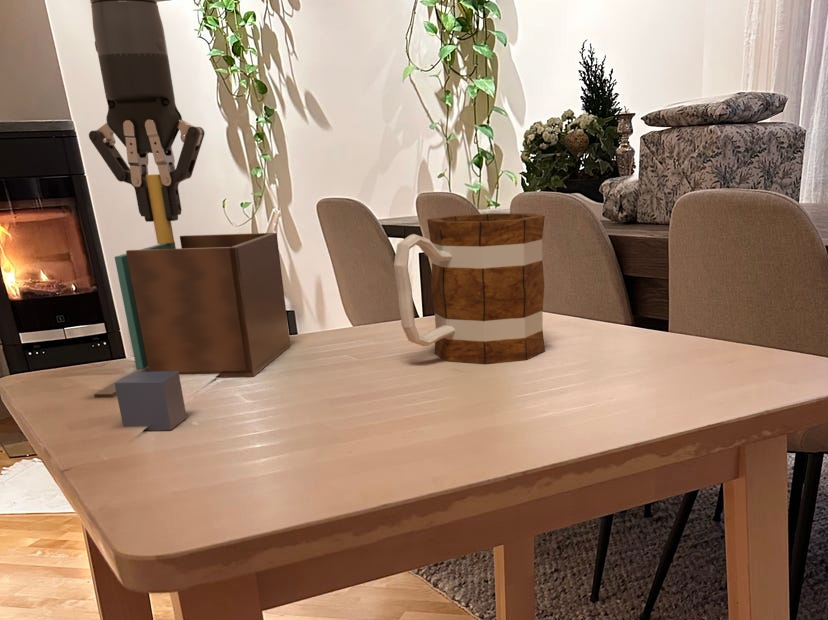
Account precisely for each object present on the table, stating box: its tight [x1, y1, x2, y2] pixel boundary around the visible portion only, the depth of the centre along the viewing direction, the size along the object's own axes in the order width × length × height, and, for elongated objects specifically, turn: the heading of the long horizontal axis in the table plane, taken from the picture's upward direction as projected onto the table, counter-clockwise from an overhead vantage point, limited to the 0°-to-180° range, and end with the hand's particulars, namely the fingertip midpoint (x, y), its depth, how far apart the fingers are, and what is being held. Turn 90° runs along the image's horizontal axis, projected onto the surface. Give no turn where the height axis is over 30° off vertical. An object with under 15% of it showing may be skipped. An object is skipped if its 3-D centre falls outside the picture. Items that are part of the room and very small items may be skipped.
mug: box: [393, 212, 546, 365], centre depth 110 cm, size 20×14×15 cm
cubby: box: [93, 232, 291, 399], centre depth 108 cm, size 14×28×14 cm, turn 177°
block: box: [113, 371, 188, 432], centre depth 89 cm, size 4×4×4 cm
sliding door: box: [114, 173, 177, 370], centre depth 111 cm, size 2×17×20 cm, turn 177°
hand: (161, 220), depth 114 cm, fingers closed on sliding door, 2 cm apart
